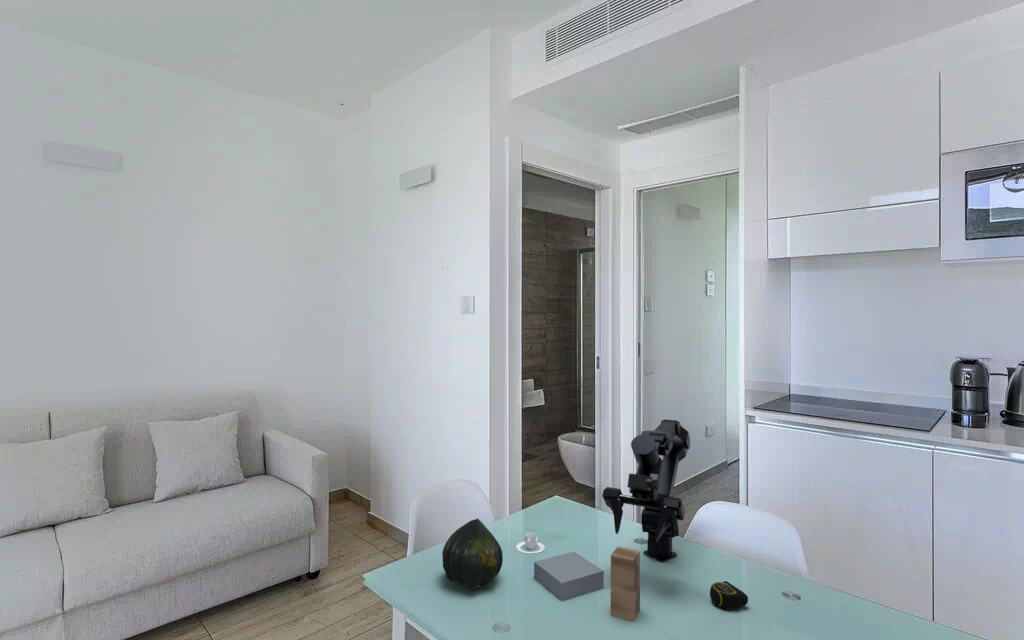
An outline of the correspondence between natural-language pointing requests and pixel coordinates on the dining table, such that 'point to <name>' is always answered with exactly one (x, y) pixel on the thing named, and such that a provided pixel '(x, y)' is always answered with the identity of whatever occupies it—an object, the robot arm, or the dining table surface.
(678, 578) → the dining table surface
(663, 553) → the robot arm
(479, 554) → the squash
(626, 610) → the walnut pillar
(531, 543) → the teacup and saucer
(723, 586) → the tape measure
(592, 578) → the grey base block
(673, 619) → the dining table surface
